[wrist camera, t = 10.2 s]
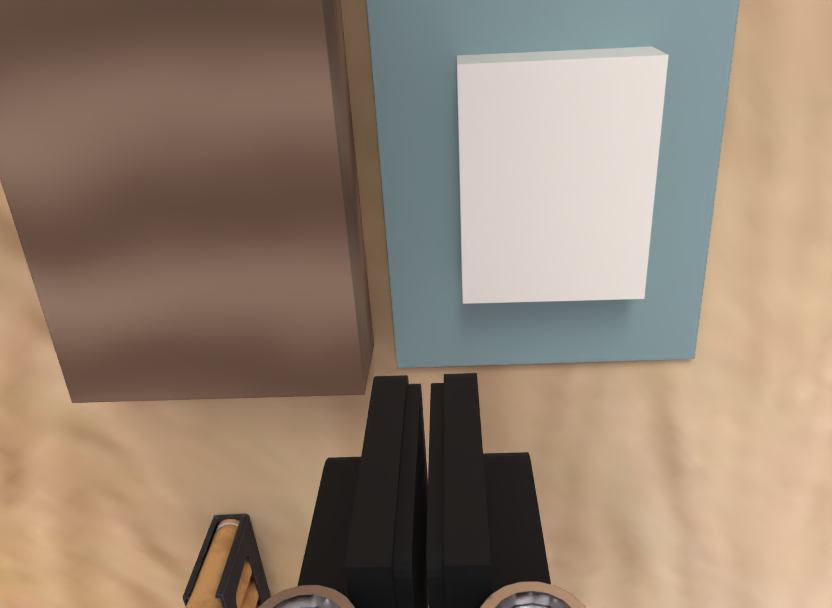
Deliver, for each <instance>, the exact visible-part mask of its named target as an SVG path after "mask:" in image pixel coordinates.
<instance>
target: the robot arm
mask: <svg viewBox="0 0 832 608" xmlns="http://www.w3.org/2000/svg"><path fill="white" fill-rule="evenodd" d="M258 608H586V606H585V605H583V604H582V603H581V602H580V601H579V600H578V599H577V598H576V597H575V596H574V595H573V594H571V593H569V592H567V591H565V590H563V589H561V588H559V587H557V586H555V585H551V582H550V576H549V570H548V564H547V558H546V552H545V545H544V539H543V533H542V527H541V521H540V515H539V509H538V503H537V496H536V490H535V484H534V478H533V472H532V466H531V460H530V455H529V453H528V452H525V453H488V454H483V448H482V435H481V421H480V408H479V394H478V381H477V373H464V374H444V383H431V400H430V436H429V472H428V477H427V463H426V448H425V434H424V419H423V405H422V391H421V384H409V381H408V376H407V375H404V376H375V377H374V379H373V385H372V392H371V398H370V405H369V411H368V418H367V424H366V430H365V437H364V443H363V450H362V456H361V457H338V458H328V459H327V460H326V462H325V465H324V469H323V473H322V478H321V482H320V487H319V491H318V496H317V500H316V505H315V510H314V514H313V519H312V523H311V528H310V532H309V537H308V541H307V546H306V550H305V555H304V559H303V564H302V568H301V573H300V577H299V582H298V586H297V587H294V588H290V589H287V590H283V591H282V592H280V593H278V594H276V595H274V596H272V597H271V598H269V599H267V600H266V601H265V602H264V603H263V604H262V605H261V606H260V607H258Z"/></svg>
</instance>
